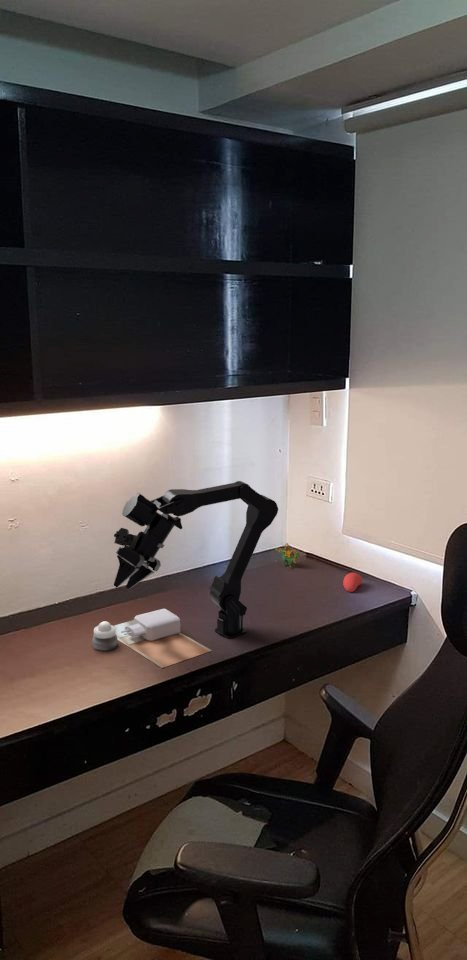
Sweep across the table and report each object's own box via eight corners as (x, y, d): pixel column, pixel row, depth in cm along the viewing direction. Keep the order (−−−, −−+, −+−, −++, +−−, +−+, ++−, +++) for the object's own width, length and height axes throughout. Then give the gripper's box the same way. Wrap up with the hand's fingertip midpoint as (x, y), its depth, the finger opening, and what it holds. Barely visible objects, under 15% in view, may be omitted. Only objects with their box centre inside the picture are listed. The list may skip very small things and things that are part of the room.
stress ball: (336, 592, 239) (339, 580, 235) (349, 576, 245) (353, 563, 240) (350, 601, 237) (354, 588, 233) (363, 583, 243) (367, 571, 238)
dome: (108, 627, 199) (108, 615, 199) (119, 634, 195) (119, 622, 194) (89, 633, 196) (89, 621, 195) (100, 640, 192) (100, 628, 191)
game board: (149, 615, 215) (149, 608, 215) (211, 651, 194) (211, 643, 193) (77, 636, 201) (77, 629, 200) (136, 677, 179) (136, 669, 179)
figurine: (296, 571, 254) (297, 548, 252) (271, 562, 262) (271, 540, 260) (302, 569, 256) (303, 546, 254) (277, 560, 264) (278, 538, 262)
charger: (114, 635, 201) (163, 623, 210) (131, 648, 194) (180, 634, 203) (114, 619, 200) (162, 607, 209) (131, 631, 193) (180, 618, 202)
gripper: (141, 523, 201) (109, 572, 200) (117, 513, 183) (82, 567, 182) (174, 545, 198) (142, 595, 197) (154, 537, 180) (118, 592, 179)
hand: (121, 587), depth 189 cm, fingers open, 9 cm apart
